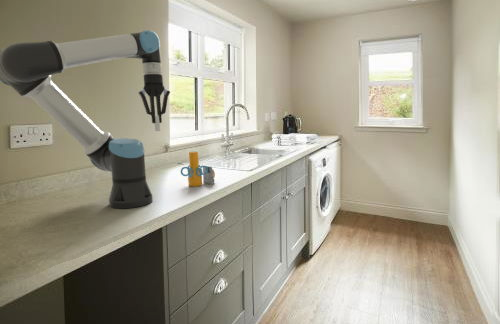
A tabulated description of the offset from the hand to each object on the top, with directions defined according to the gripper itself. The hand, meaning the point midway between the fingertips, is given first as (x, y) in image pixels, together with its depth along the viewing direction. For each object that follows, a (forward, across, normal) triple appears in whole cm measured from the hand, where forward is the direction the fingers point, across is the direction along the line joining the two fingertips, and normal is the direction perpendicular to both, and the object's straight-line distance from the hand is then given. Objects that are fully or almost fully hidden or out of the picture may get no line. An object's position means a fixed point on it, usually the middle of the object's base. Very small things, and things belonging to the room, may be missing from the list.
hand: (157, 130), depth 149 cm
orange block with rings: (+25, +14, -4) cm, 29 cm away
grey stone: (+25, +20, -3) cm, 32 cm away
